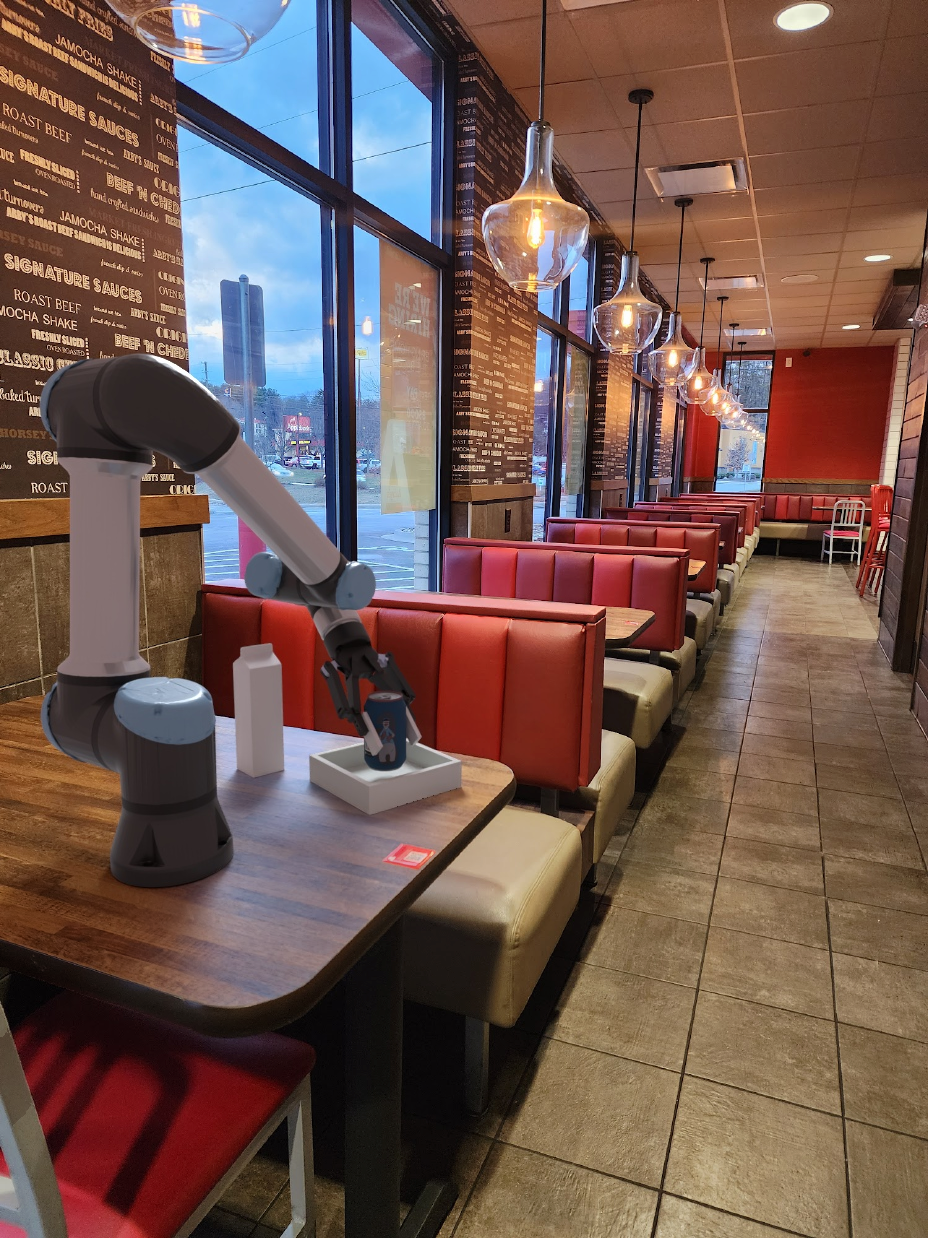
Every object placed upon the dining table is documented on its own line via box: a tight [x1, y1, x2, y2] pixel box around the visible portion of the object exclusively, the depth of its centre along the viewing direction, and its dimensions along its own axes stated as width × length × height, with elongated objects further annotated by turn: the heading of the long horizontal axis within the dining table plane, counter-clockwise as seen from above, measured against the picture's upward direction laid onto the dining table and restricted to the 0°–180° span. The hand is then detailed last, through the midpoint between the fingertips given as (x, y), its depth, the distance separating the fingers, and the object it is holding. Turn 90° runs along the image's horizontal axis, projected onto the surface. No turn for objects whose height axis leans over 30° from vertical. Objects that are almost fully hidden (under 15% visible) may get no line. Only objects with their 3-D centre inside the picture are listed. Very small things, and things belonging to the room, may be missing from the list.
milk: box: [232, 643, 285, 779], centre depth 136 cm, size 6×6×22 cm
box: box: [308, 737, 463, 816], centre depth 131 cm, size 18×18×4 cm
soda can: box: [363, 690, 407, 771], centre depth 130 cm, size 7×7×12 cm
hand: (397, 746), depth 128 cm, fingers closed on soda can, 7 cm apart
